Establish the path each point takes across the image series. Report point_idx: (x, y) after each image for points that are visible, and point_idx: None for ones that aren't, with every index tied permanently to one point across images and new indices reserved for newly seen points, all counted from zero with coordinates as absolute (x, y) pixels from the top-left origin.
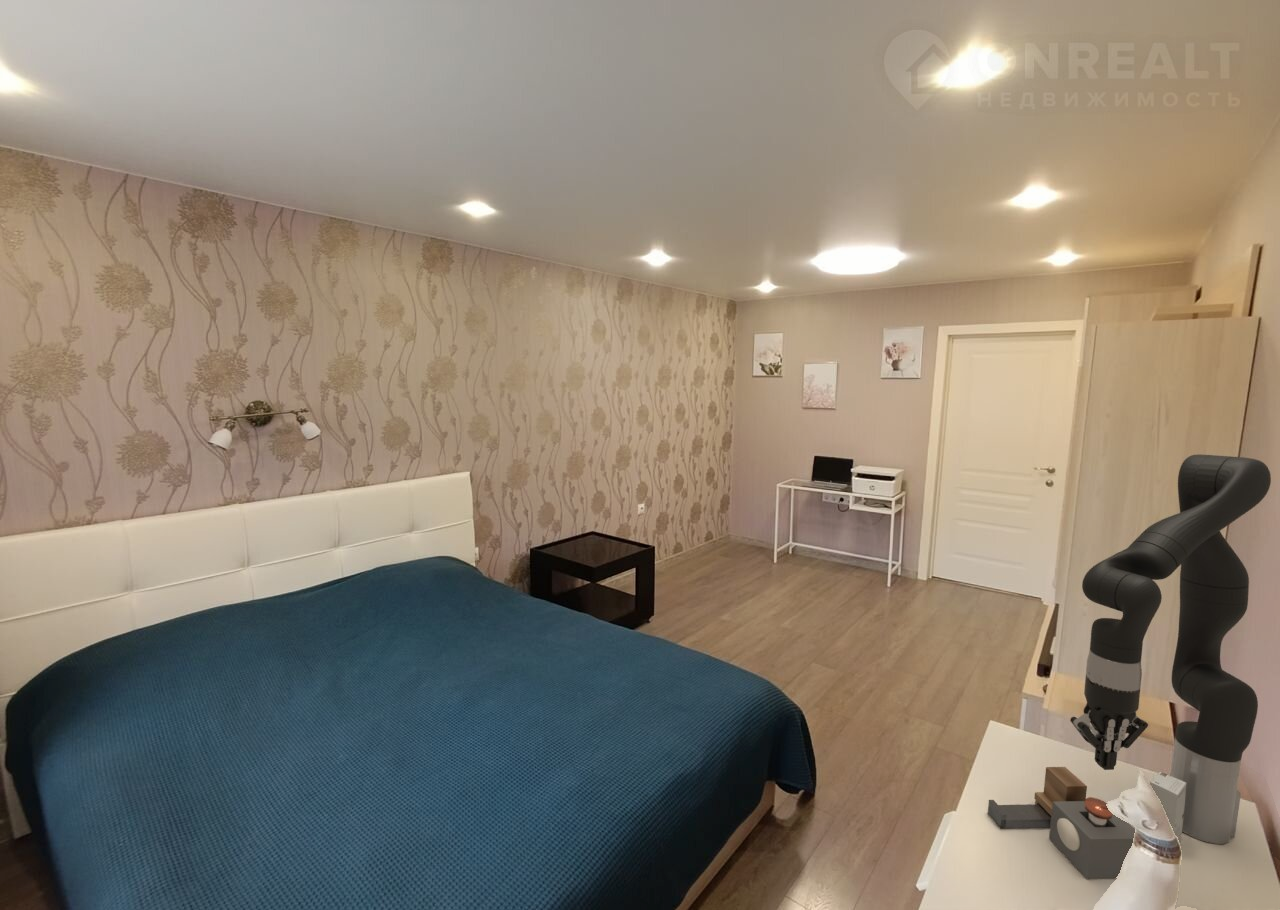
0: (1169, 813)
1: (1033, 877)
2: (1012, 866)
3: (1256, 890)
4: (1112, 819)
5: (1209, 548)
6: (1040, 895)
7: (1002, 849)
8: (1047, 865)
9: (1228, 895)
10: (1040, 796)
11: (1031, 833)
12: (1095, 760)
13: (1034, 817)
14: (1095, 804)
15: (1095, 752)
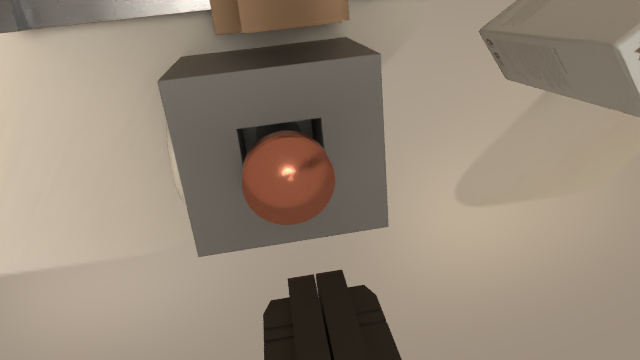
0: (575, 90)
1: (64, 206)
2: (16, 178)
3: (595, 171)
4: (339, 156)
5: None
6: (60, 256)
7: (5, 118)
8: (124, 161)
9: (519, 193)
10: None
11: (132, 37)
12: (268, 310)
13: (147, 4)
14: (278, 179)
15: (264, 358)
